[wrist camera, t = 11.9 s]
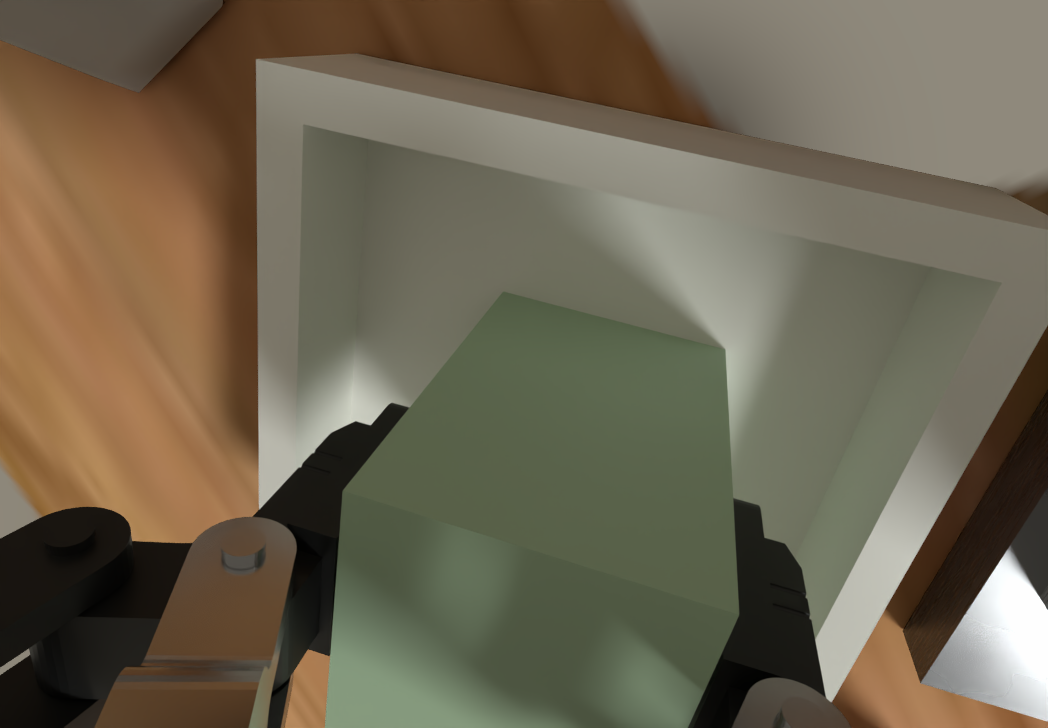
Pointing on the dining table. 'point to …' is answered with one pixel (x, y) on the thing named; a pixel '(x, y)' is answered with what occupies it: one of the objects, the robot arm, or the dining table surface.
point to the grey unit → (994, 591)
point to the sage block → (541, 535)
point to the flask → (106, 33)
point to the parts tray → (648, 291)
